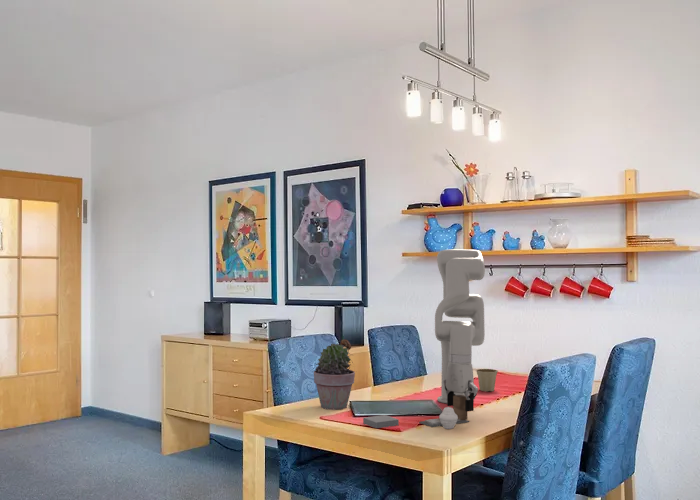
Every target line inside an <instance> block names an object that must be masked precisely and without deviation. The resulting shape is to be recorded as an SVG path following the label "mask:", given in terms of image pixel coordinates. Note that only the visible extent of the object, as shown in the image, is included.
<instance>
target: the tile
mask: <svg viewBox="0 0 700 500" xmlns="http://www.w3.org/2000/svg"><path fill="white" fill-rule="evenodd" d="M362 419H363V421H362V423H363V424H364V425H365V426H366V425H367V426H369V427H371V428H375V429H382V428H388V427H389V426H390V427H396V425H397V426H399V425H400V424H399V423H400V422H399V421H400V420H399V419H398V418H395V417H392V416H390V415H387V414H383V415H374V416H368V417H363V418H362Z"/></svg>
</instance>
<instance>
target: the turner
mask: <svg viewBox="0 0 700 500" xmlns="http://www.w3.org/2000/svg"><path fill="white" fill-rule="evenodd" d="M465 400H467V398H466V396H464V395H454V396H453V406H452V408H453V409H454V412H455V414H456V415H457V416H458V419H457V421H460V420H468V412H467V411H465ZM424 421H425V422H426V423H429V424H432V425H434V424H441V421H440V418H439V417H438V418H432V419H424Z"/></svg>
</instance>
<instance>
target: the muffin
mask: <svg viewBox="0 0 700 500" xmlns="http://www.w3.org/2000/svg"><path fill="white" fill-rule="evenodd" d="M438 418H440V421H441V423H442V425H443V426H442V427H443V429H445V430H452V429H454V427H455V426H456V425H457V424H456V422H457V419H458V416H457V415H456V414H455V412H454V409H453V407H452V406H445V407H444V408H443V409H442V412H441V413H440V414H439V416H438Z"/></svg>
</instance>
